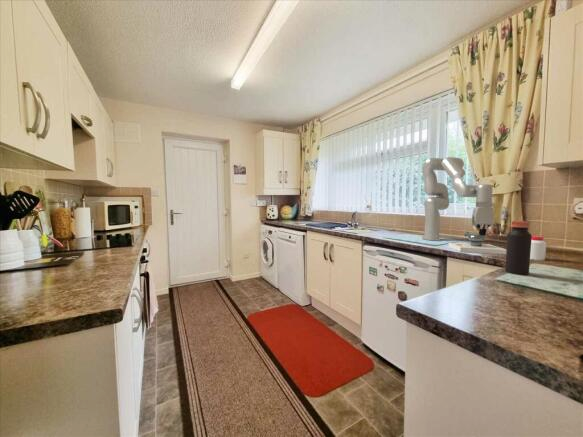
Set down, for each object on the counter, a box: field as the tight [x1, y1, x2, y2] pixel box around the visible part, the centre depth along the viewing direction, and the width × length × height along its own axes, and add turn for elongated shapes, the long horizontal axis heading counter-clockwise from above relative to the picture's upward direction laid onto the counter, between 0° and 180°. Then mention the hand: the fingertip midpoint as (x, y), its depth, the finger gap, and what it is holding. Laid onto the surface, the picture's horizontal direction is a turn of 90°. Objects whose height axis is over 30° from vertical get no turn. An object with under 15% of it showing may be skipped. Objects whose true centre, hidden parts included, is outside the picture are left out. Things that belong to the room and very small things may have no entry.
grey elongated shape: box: [464, 231, 486, 246], centre depth 143 cm, size 17×8×6 cm, turn 165°
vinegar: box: [504, 220, 533, 276], centre depth 93 cm, size 7×7×20 cm
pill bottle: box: [530, 235, 547, 261], centre depth 118 cm, size 8×8×11 cm
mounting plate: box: [448, 242, 507, 255], centre depth 139 cm, size 17×22×3 cm
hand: (482, 235), depth 145 cm, fingers closed
